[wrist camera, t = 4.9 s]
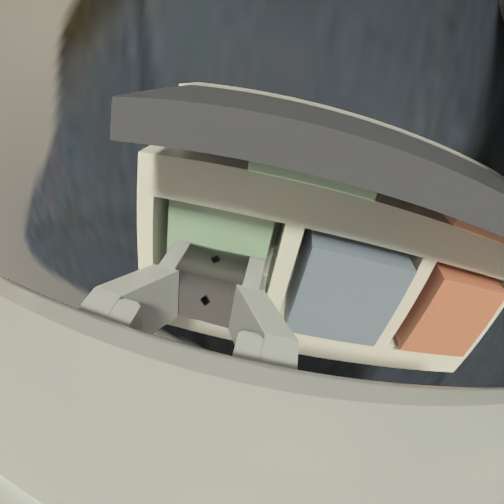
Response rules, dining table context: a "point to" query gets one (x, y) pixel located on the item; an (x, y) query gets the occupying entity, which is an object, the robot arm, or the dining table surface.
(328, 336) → the key slate
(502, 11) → the beverage cup
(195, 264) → the robot arm
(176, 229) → the key sage
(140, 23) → the dining table surface
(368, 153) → the keypad console
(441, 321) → the key terracotta
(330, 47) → the dining table surface
